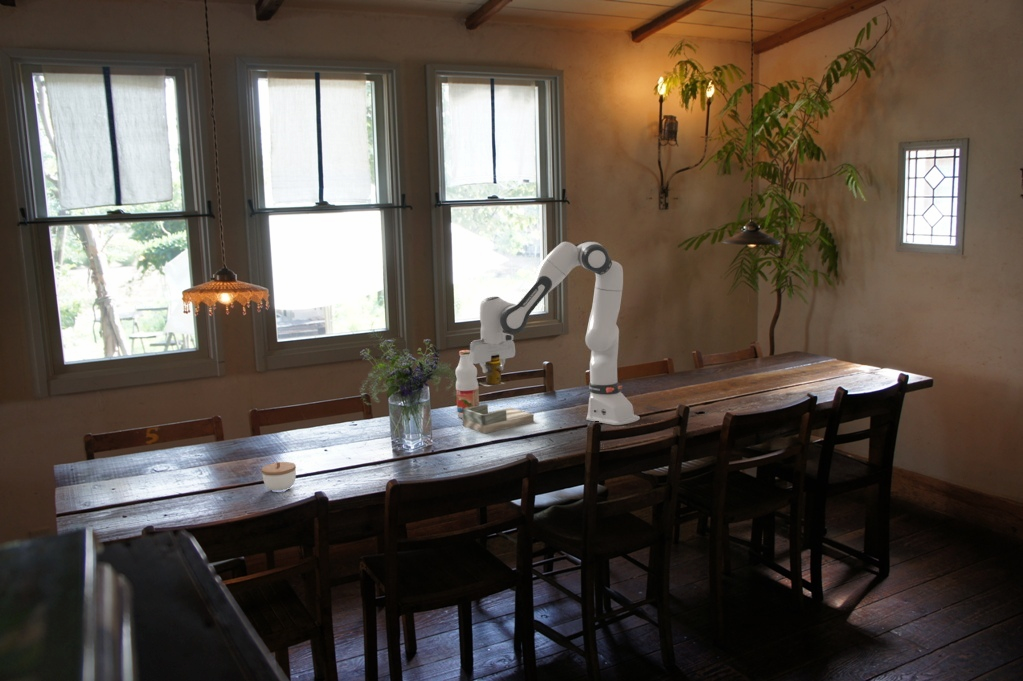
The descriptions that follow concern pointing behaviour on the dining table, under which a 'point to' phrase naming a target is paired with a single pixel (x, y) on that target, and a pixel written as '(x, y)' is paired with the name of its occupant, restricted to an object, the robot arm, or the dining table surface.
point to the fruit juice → (466, 383)
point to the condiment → (493, 372)
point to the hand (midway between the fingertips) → (493, 371)
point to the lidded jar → (279, 475)
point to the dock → (494, 418)
